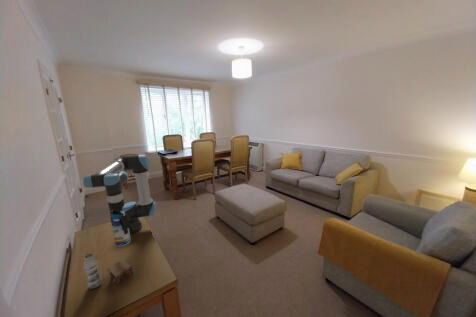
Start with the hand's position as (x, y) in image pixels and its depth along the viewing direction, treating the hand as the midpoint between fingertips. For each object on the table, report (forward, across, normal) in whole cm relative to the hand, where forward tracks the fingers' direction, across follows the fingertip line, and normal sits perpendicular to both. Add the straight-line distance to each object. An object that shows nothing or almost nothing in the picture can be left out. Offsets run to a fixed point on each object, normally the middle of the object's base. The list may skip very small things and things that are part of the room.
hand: (122, 236), depth 116 cm
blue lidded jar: (+4, 0, 0) cm, 4 cm away
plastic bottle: (+26, -8, -15) cm, 31 cm away
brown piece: (+26, -1, -4) cm, 26 cm away
